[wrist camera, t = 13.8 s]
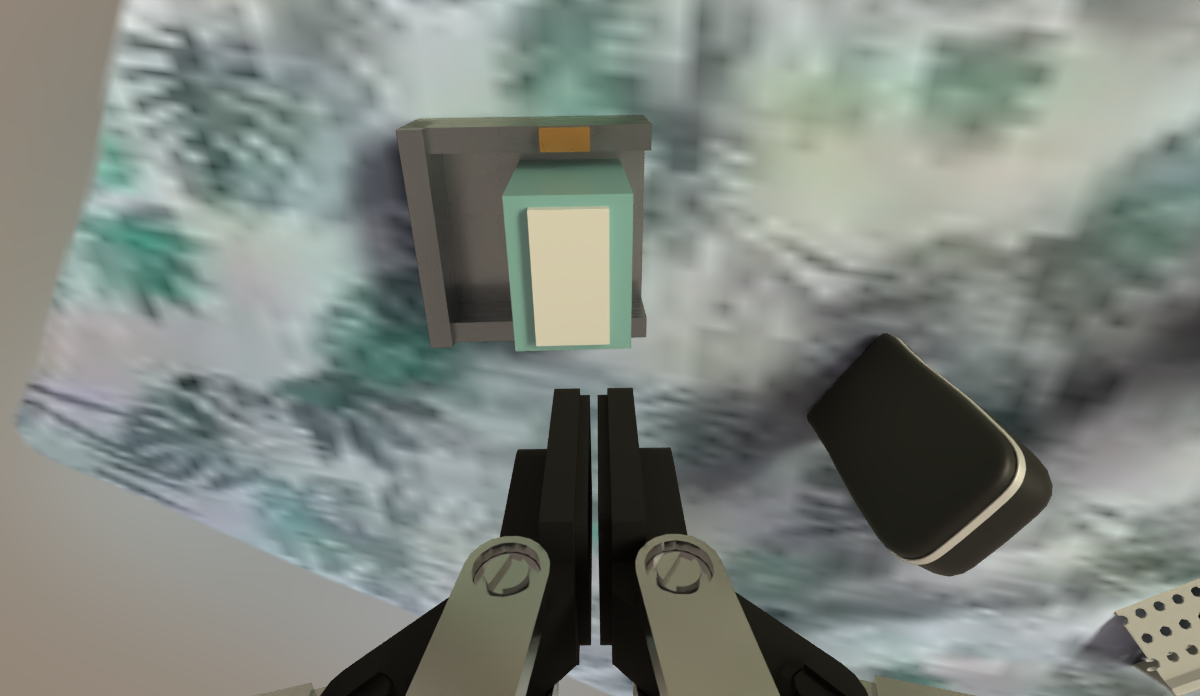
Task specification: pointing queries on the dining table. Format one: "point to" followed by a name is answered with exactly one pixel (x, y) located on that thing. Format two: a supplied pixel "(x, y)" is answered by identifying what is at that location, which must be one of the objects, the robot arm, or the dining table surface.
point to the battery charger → (927, 461)
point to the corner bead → (1169, 638)
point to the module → (570, 254)
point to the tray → (497, 208)
